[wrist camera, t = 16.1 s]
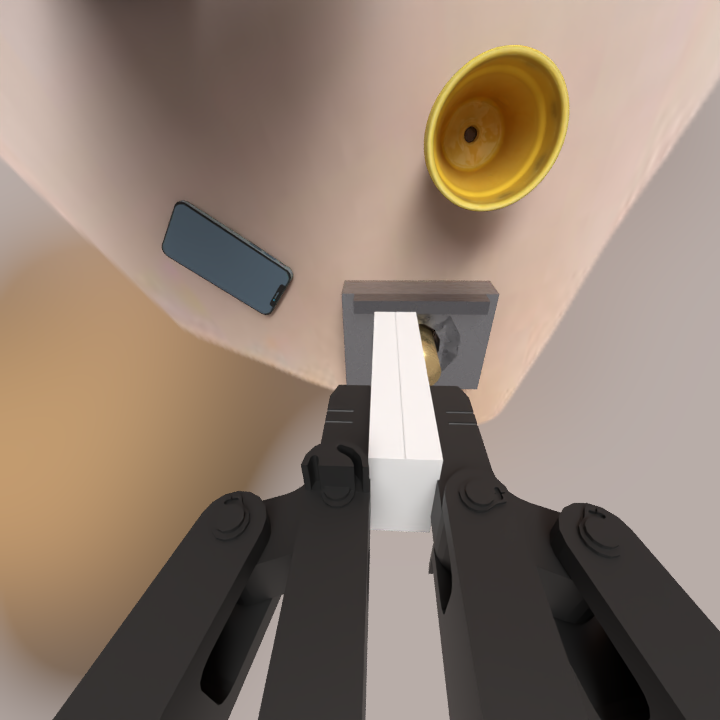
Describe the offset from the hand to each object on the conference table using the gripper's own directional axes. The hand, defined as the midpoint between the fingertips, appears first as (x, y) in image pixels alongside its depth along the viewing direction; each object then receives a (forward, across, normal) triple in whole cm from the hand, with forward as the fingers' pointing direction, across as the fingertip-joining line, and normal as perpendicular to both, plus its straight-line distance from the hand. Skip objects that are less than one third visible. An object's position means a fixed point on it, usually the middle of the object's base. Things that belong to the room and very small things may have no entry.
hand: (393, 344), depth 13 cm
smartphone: (+30, -19, -6) cm, 36 cm away
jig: (+29, +4, -16) cm, 34 cm away
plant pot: (+30, +8, +6) cm, 31 cm away
